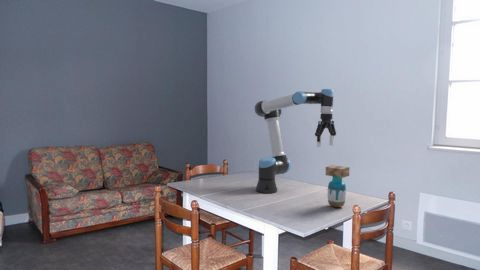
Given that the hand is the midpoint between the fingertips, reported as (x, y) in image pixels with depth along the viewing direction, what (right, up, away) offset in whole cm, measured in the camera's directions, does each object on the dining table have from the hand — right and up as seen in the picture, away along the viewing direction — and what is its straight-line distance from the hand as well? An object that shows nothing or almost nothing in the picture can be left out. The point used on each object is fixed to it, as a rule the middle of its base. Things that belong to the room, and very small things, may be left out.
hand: (325, 146), depth 233 cm
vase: (+3, -36, -15) cm, 40 cm away
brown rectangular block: (+3, -17, -17) cm, 24 cm away
